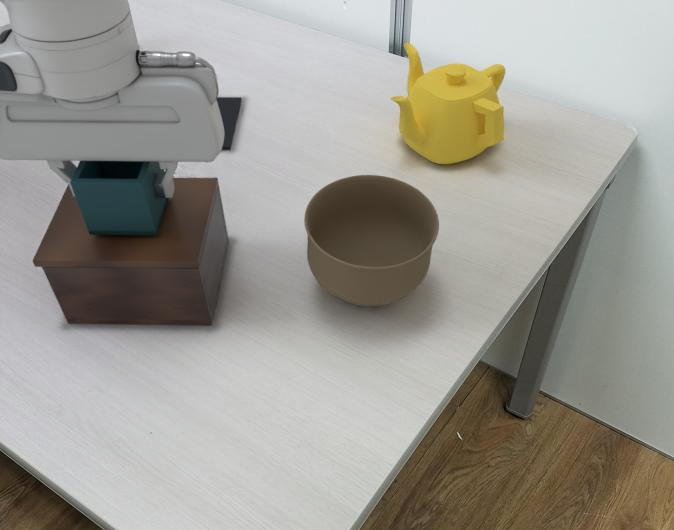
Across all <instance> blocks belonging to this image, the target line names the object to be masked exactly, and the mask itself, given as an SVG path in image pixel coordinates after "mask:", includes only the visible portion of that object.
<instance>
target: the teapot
mask: <svg viewBox="0 0 674 530" xmlns="http://www.w3.org/2000/svg"><path fill="white" fill-rule="evenodd" d="M403 47H404V49H405V52H406V54H407V56H408V75H407V83H406V92H407V97H406V96H401V95H396V96H392V97H391V98H390V101H392V102H393V103H396V104H397V105H398V107H399V122H398V130H399V134H400V135H401V137H402V139H403V141H404V142H405V143H406V145H407V146H408V147H409V148H410V149H412V150H413V151H414V152H415V153H417V154H418V155H419V156H420V157H423V158H424V159H426V160H428V161H430V162H432V163H433V164H434V163H435V164H437V165H452V164H457V163H461V162H464V161H465V162H466V161H467V160H470V159H472V158H474V157H476V156H478V155H480V154H481V153H483V152H484V151H485V150H486V149H488V147H492V146H496V145H498V144H499V143H501V142H503V141H504V140H505V124H504V123H505V121H504V120H505V119H504V115H505V114H504V106H503V105H501V103H500V99H499V97H498V93H497V92H499V89H500V88H501V85H502V84H503V81H504V79H505V75H506V68H505V66H504V65H502V64H500V63H496V64H492V65H490V66H488V67H485V68H484V69H482V70H481V71H479V70H478V69H476V68H474V67H472V66H470V65H467V64H465V63H460V62H459V63H457V62H456V63H448V64H445V65H440V66H438V67H435V68H432V69H430V70H428V71H426V72H425V73H424V68H423V64H422V63H423V62H422V61H421V56H420V54H419V52H418V50H417V48H416V47H415V46H414V45H412V44H411V43H410V42H404V43H403Z"/></svg>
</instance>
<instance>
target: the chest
mask: <svg viewBox="0 0 674 530" xmlns="http://www.w3.org/2000/svg"><path fill="white" fill-rule="evenodd" d="M222 200H223V199H222V195H221V189H220V184H219V185H218V189H217V193H216V197H215V202H214V206H213V210H212V214H211V218H210V223H209V227H208V231H207V235H206V239H205V243H204V248H203V252H202V256H201V260H200V264H199V268H111V267H41V268H42V271H43V273H44V275H45V277H46V280H47V281H48V284H49V285H50V288H51V291H52V293H53V295H54V296H55V299H56V301H57V303H58V305H59V308H60V309H61V312H62V314H63V316H64V319H65V320H66V322H67V324H71V325H72V324H74V325H77V324H78V325H81V324H82V325H142V326H143V325H144V326H145V325H147V326H148V325H151V326H152V325H154V326H155V325H156V326H212V325H213V321H214V317H215V311H216V308H217V307H216V306H217V303H218V298H219V292H220V287H221V282H222V277H223V273H224V272H223V271H224V267H225V262H226V258H227V254H228V253H227V252H228V248H229V244H230V239H229V233H228V228H227V223H226V217H225V212H224V207H223V201H222Z"/></svg>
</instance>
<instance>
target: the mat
mask: <svg viewBox="0 0 674 530" xmlns="http://www.w3.org/2000/svg"><path fill="white" fill-rule="evenodd" d="M216 100H217V103H218V106H219V110H220V113H221V117H222V121H223V126H224V133H225V135H224V142H223V146H222V150H223V151H224V150H225V151H226V150H227V151H228V150H229V151H230V150H231V147H232V143H233V138H234V134H235V130H236V125H237V123H238V122H237V121H238V117H239V113H240V109H241V105H242V101H243V99H242V97H240V96H239V97H238V96H236V97H234V96H231V97H230V96H229V97H221V96H220V97H219V96H218V97H217V99H216ZM222 150H221V151H222Z"/></svg>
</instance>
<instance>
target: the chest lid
mask: <svg viewBox="0 0 674 530" xmlns="http://www.w3.org/2000/svg"><path fill="white" fill-rule="evenodd" d="M173 181H174V194H173V197H172V198H168V201H167V204H166V208H165V211H164V214H163V217H162V221H161V224H160V227H159V230H158V233H157V235H90V234H89V232H88V229H87V227H86V224H85V221H84V219H83V216H82V213H81V210H80V208H79V205H78V202H77V200H76V197H74V196H73V194H72V192H71V189H70V186H69V184H68V183H67V186H66V188H65V190H64V192H63V194H62V197H61V199H60V201H59V203H58V205H57V207H56V210H55V211H54V214H53V216H52V218H51V220H50V223H49V225H48V227H47V229H46V231H45V233H44V235H43V238H42V239H41V242H40V244H39V245H38V248H37V250H36V252H35V254H34V256H33V258H32V263H33V265H34V267H35V268H42V267H111V268H199V264H200V260H201V256H202V252H203V248H204V243H205V239H206V235H207V231H208V227H209V223H210V218H211V214H212V210H213V206H214V202H215V197H216V193H217V189H218V185H219V186H220V184H219V178H218V177H173Z"/></svg>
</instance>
